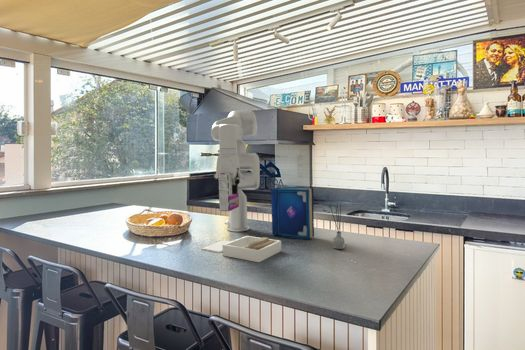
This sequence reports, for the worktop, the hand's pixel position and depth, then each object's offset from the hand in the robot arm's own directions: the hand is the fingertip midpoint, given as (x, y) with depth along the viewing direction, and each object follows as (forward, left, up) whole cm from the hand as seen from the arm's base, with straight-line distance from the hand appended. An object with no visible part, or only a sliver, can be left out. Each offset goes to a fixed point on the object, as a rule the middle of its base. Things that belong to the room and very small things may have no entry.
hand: (228, 193), depth 158 cm
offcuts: (+17, -1, -25) cm, 30 cm away
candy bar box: (0, 0, -7) cm, 7 cm away
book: (+14, +33, -25) cm, 44 cm away
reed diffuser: (+41, +24, -25) cm, 54 cm away
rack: (+13, -1, -25) cm, 28 cm away
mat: (-5, 0, -25) cm, 25 cm away
